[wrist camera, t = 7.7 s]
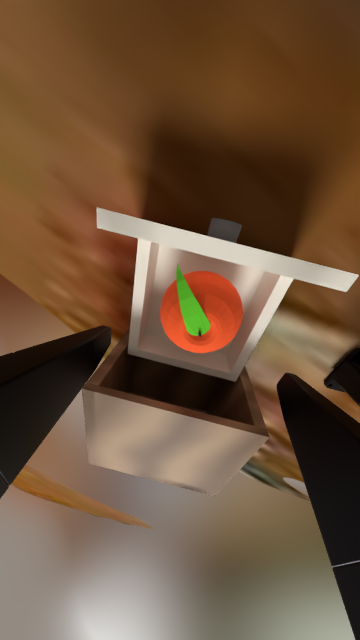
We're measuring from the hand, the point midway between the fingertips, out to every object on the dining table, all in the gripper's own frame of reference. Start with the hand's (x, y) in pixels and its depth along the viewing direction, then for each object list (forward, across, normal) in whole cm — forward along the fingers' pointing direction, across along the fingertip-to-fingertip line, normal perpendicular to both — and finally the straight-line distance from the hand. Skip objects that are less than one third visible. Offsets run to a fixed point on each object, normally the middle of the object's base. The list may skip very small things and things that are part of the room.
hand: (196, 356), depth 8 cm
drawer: (+11, 0, 0) cm, 11 cm away
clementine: (+10, 0, 0) cm, 10 cm away
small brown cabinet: (+11, 0, +13) cm, 17 cm away
